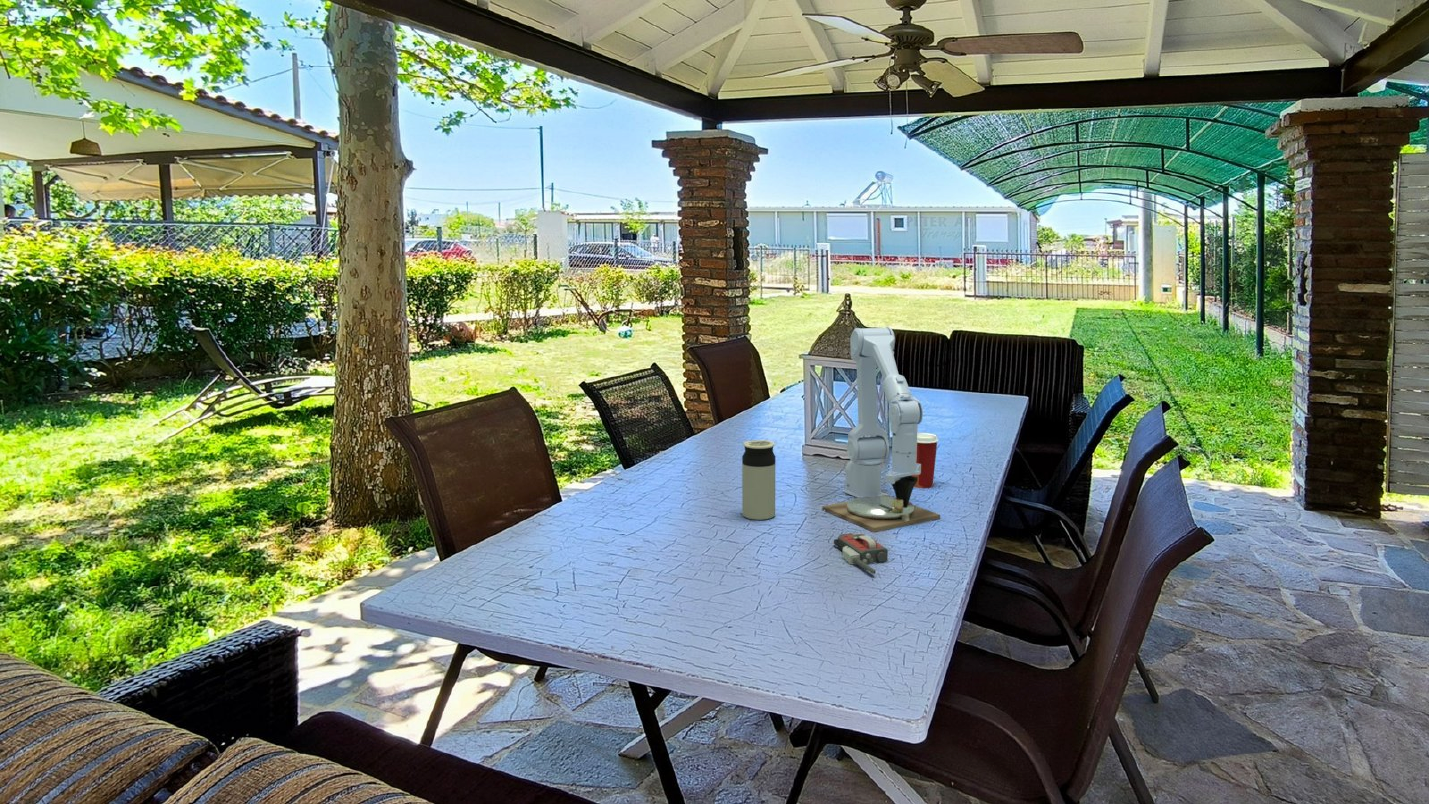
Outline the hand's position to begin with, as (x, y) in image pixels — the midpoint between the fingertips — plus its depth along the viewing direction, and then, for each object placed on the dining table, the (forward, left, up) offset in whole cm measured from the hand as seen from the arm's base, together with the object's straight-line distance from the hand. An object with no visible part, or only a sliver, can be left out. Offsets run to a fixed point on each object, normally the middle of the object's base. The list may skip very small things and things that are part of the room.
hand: (902, 506), depth 207 cm
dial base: (-6, -2, -3) cm, 7 cm away
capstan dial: (-6, -2, -2) cm, 6 cm away
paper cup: (-21, +25, -3) cm, 33 cm away
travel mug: (-20, -28, -3) cm, 34 cm away
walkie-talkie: (+17, -25, -4) cm, 30 cm away
